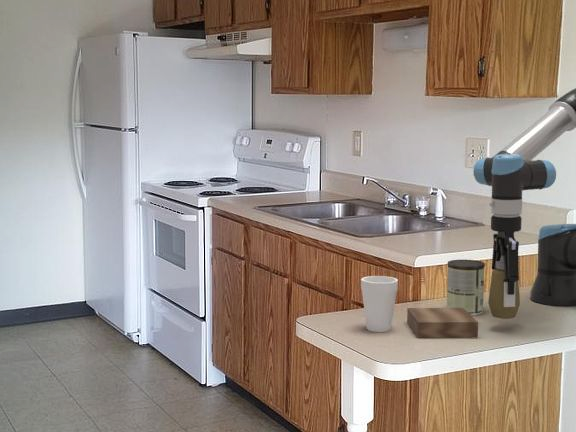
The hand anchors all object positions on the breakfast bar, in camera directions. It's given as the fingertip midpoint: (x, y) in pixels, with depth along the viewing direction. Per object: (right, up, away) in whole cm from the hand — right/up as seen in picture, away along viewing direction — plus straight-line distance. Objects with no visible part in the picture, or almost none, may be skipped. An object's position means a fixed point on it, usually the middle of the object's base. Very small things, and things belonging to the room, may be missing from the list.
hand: (504, 302), depth 206 cm
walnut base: (-16, -7, 0) cm, 18 cm away
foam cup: (-32, -7, +1) cm, 33 cm away
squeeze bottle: (0, -4, 0) cm, 4 cm away
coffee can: (-6, -5, +19) cm, 21 cm away
